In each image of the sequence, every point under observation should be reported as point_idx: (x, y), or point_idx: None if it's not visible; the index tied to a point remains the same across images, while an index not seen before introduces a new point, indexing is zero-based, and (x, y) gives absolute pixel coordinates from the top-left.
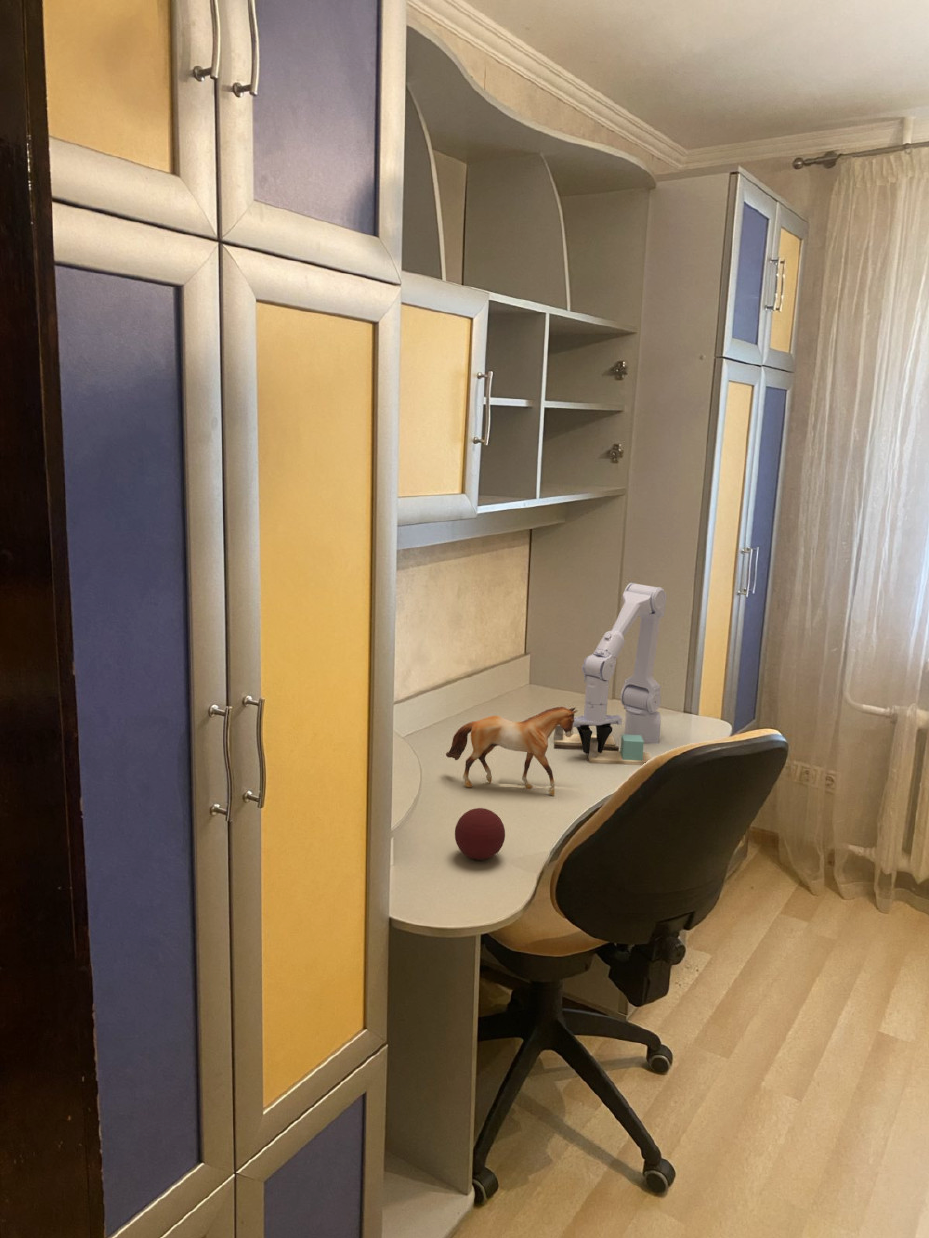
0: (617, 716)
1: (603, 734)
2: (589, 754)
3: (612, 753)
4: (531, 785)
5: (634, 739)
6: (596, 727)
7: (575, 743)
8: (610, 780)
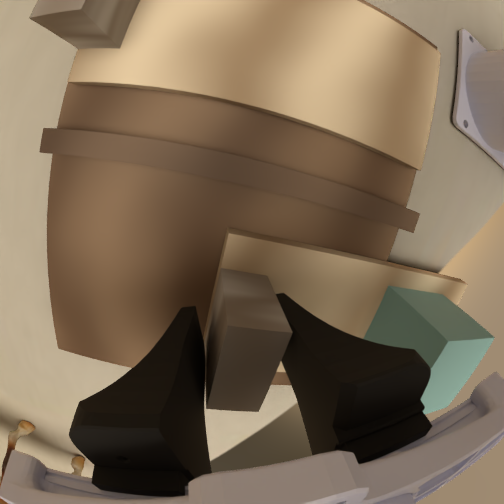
0: (499, 438)
1: (310, 444)
2: (205, 353)
3: (349, 296)
4: (31, 430)
5: (441, 394)
6: (325, 377)
7: (191, 94)
8: (239, 433)
